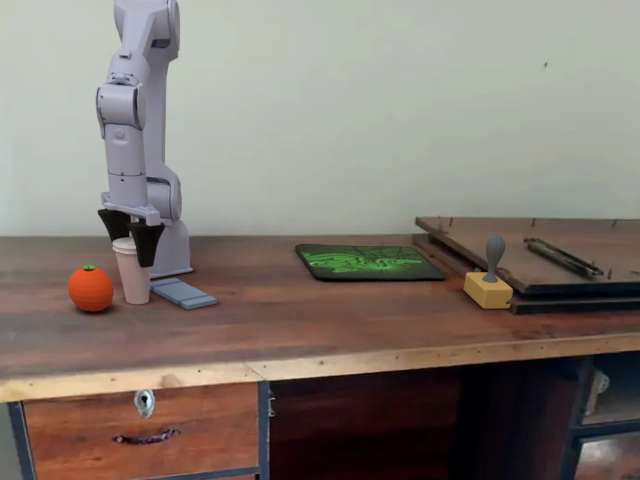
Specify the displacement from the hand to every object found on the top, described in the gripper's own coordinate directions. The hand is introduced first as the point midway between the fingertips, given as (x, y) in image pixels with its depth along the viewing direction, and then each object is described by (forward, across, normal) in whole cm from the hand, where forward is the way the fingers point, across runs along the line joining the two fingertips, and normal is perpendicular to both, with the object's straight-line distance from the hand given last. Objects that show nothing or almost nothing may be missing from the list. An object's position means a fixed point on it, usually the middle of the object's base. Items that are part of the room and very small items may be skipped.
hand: (134, 260), depth 127 cm
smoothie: (+7, 0, 0) cm, 7 cm away
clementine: (+7, 0, -8) cm, 11 cm away
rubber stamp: (+7, +32, +55) cm, 64 cm away
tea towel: (+7, +2, +8) cm, 10 cm away
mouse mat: (+7, +5, +50) cm, 51 cm away
